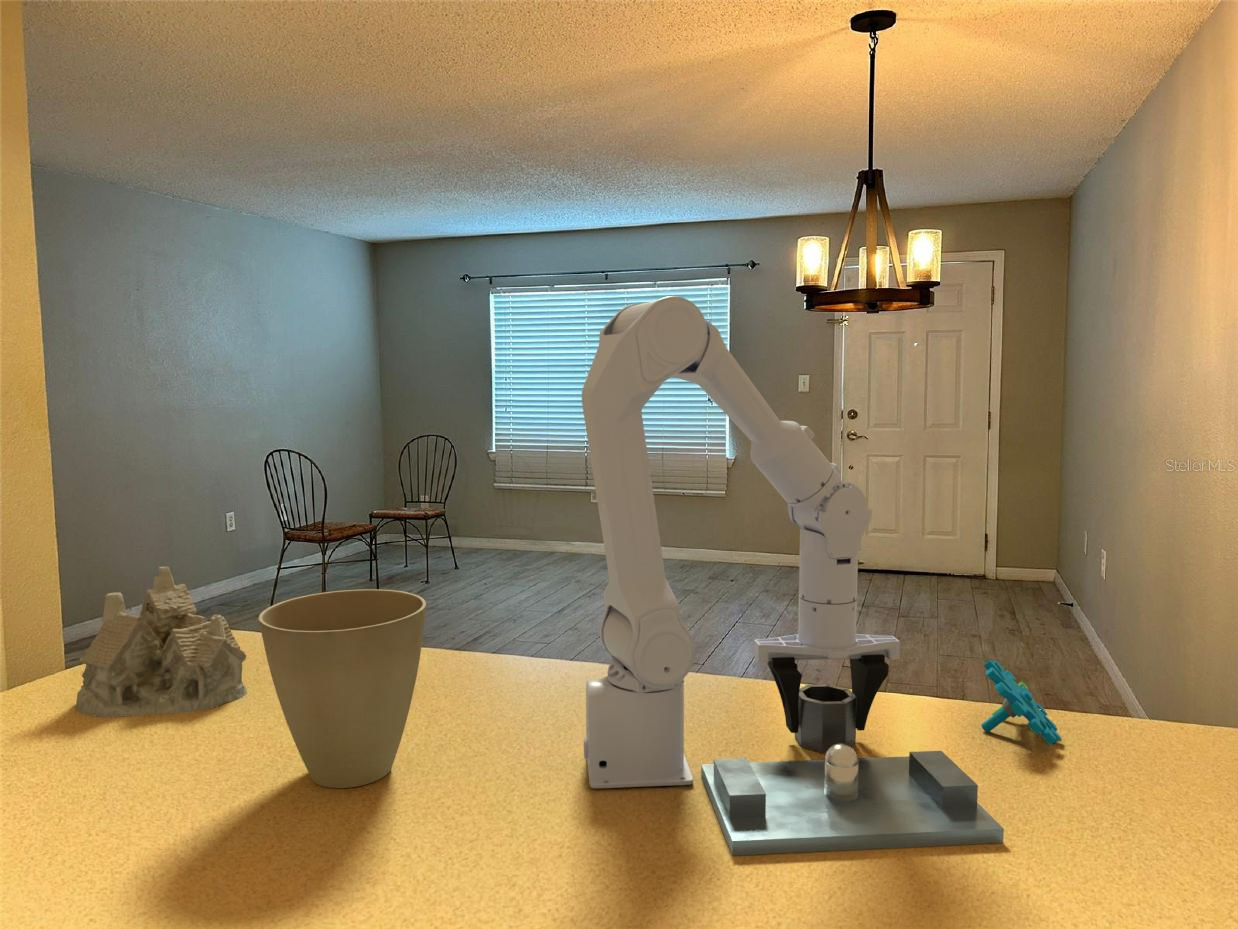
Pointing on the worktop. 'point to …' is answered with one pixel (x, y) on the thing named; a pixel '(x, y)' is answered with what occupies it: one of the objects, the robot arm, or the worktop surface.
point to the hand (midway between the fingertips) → (825, 728)
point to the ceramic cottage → (160, 657)
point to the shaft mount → (846, 803)
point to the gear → (1017, 704)
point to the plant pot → (345, 677)
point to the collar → (826, 717)
